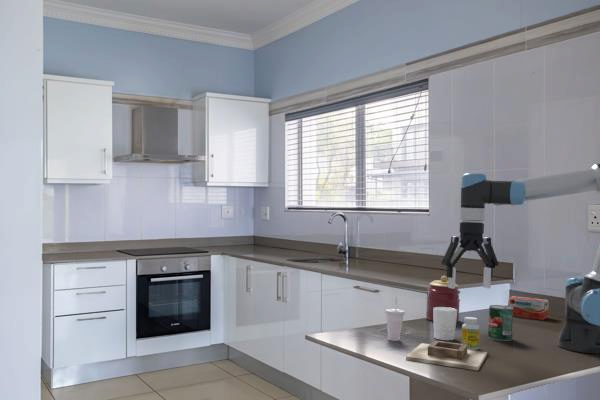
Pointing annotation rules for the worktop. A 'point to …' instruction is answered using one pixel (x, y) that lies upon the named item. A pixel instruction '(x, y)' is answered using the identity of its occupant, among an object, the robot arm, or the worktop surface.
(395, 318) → the smoothie
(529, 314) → the medicine box
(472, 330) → the supplement bottle
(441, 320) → the white cup
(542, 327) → the worktop surface
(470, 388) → the worktop surface
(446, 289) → the canister
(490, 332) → the canned tomato
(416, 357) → the socket board
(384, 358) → the worktop surface
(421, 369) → the worktop surface
